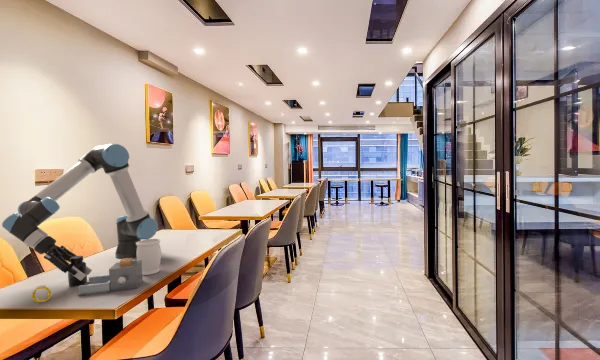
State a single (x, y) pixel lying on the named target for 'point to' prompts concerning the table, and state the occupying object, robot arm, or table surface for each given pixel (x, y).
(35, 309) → the table surface
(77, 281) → the supplement bottle
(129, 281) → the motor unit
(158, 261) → the jar
